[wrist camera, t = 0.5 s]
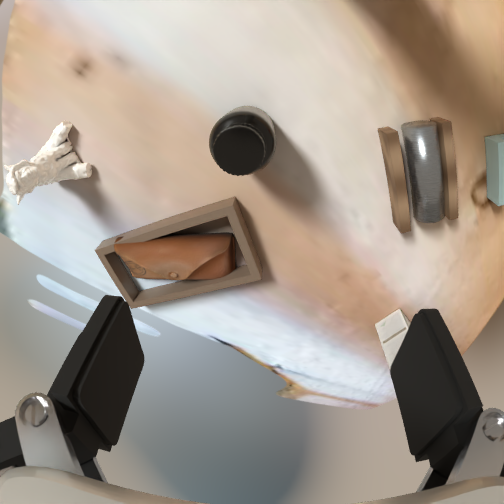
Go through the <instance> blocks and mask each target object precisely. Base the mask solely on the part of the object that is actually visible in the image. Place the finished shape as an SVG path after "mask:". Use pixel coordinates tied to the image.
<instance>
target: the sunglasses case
mask: <svg viewBox="0 0 504 504" xmlns="http://www.w3.org/2000/svg"><path fill="white" fill-rule="evenodd" d="M123 237H124V236H122V237H118V238H117V239H116V240H115V243H116V242H117V241H119V240H121V239H122V238H123ZM114 250H115V252H116V253H117V254H118V255H119V256H120V257H121V258H122V260H123V261H124V262H125V264H126V265H127V267H128V268H129V269H130V272H131V274H132V276H133V277H136V278H145V279H170V280H185V279H194V280H213V279H218V278H222V277H224V276H226V275H228V274H230V273H231V272H232V271H233V270H235V269H236V261H235V237H234V234H233V233H207V234H186V235H164V236H160V237H157V238H154V239H151V240H148V241H145V242H135V243H123V244H114Z"/></svg>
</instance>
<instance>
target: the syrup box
mask: <svg viewBox="0 0 504 504" xmlns="http://www.w3.org/2000/svg"><path fill="white" fill-rule="evenodd" d="M410 324H411V322H410V321H409V320H408V318H407V317H406V316H405V315H404V313H403V312H402V311H401V309H398V310H396V311H394V312H393V313H391V314H390V315H388V316H387V317H385V318H384V319H382V320H381V321H379V322H378V323H376V324H375V327H376V329H377V333H378V336H379V339H380V342H381V345H382V348H383V351H384V354H385V357H386V360H387V363H388V366H389V369H390V368H391V365H392V362H393V360H394V358H395V356H396V354H397V352H398V350H399V348H400V346H401V344H402V342H403V340H404V337H405V335H406V333H407V331H408V328H409V326H410Z"/></svg>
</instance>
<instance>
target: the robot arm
mask: <svg viewBox="0 0 504 504" xmlns="http://www.w3.org/2000/svg"><path fill="white" fill-rule="evenodd" d="M143 365H144V354H143V351H142V348H141V345H140V341H139V338H138V335H137V332H136V328H135V325H134V322H133V318H132V315H131V311H130V308H129V304H128V303H127V302H125V301H124V299H123V298H122V297H120V296H110V295H105V296H104V297H103V298H102V300H101V302H100V303H99V305H98V306H97V308H96V310H95V311H94V313H93V315H92V316H91V318H90V320H89V322H88V323H87V325H86V327H85V328H84V330H83V332H82V333H81V334H80V335H79V336H78V338H77V340H76V342H75V344H74V345H73V347H72V349H71V351H70V352H69V354H68V356H67V358H66V360H65V362H64V364H63V365H62V368H61V369H60V371H59V373H58V375H57V377H56V379H55V381H54V382H53V384H52V386H51V388H50V390H49V392H48V394H47V395H45V394H43V393H37V392H35V393H31V394H28V395H26V396H25V397H23V398H22V399H21V400H20V402H19V403H18V405H17V407H16V410H15V416H14V417H12V418H10V419H7V420H5V421H3V422H1V423H0V504H206V503H199V502H192V501H185V500H179V499H173V498H168V497H162V496H157V495H153V494H148V493H144V492H140V491H135V490H131V489H127V488H123V487H119V486H116V485H112V484H108V482H107V480H106V478H105V476H104V474H103V472H102V470H101V468H100V465H99V464H98V461H97V459H96V455H97V452H98V449H102V450H105V451H109V452H110V451H111V447H112V445H116V444H117V442H118V439H119V436H120V433H121V430H122V427H123V424H124V421H125V417H126V414H127V411H128V408H129V405H130V402H131V399H132V396H133V394H134V391H135V388H136V385H137V382H138V379H139V376H140V374H141V371H142V368H143ZM390 374H391V378H392V381H393V385H394V388H395V392H396V396H397V399H398V403H399V407H400V411H401V415H402V419H403V423H404V427H405V432H406V435H407V440H408V445H409V449H410V453H411V454H412V455H415V460H416V462H419V461H423V460H427V459H429V462H430V468H429V470H428V472H427V474H426V475H425V477H424V479H423V481H422V483H421V484H420V486H419V488H418V490H417V491H416V493H412V494H406V495H402V496H397V497H392V498H386V499H381V500H375V501H368V502H361V503H354V504H504V412H503V411H501V410H499V409H496V408H489V409H486V410H485V411H483V409H482V406H483V405H482V402H481V400H480V397H479V395H478V392H477V390H476V388H475V385H474V383H473V381H472V378H471V376H470V374H469V372H468V369H467V367H466V365H465V363H464V361H463V358H462V356H461V354H460V352H459V350H458V348H457V346H456V344H455V342H454V340H453V338H452V336H451V334H450V332H449V330H448V328H447V326H446V324H445V322H444V320H443V318H442V317H441V315H440V313H439V311H438V310H437V309H421V310H420V311H419V312H418V314H415V315H414V317H413V319H412V322H411V324H410V326H409V328H408V331H407V333H406V335H405V337H404V340H403V342H402V344H401V346H400V348H399V350H398V352H397V354H396V356H395V358H394V360H393V362H392V365H391V368H390Z"/></svg>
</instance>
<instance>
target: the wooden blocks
mask: <svg viewBox="0 0 504 504" xmlns="http://www.w3.org/2000/svg"><path fill="white" fill-rule="evenodd" d="M430 121H433V122H435V123H436V125H437V131H438V138H439V146H440V154H441V164H442V174H443V187H444V204H445V216H446V217H447V218H448V219H449V220H452V219H456V218H458V192H457V174H456V161H455V150H454V141H453V133H452V126H451V122H450V121H448V120H445V119H442V118H439V117H437V118H431V119H430ZM378 133H379V138H380V142H381V147H382V153H383V158H384V163H385V169H386V175H387V181H388V187H389V194H390V201H391V208H392V216H393V222H394V224H395V225H396V227H397V228H398V229H399V231H400V232H401V233H405V232H409V231H411V226H410V214H409V204H408V195H407V187H406V180H405V172H404V166H403V159H402V153H401V147H400V142H399V136H398V131H396V130H394V129H392V128H390V127H384V128H379V129H378Z"/></svg>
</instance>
